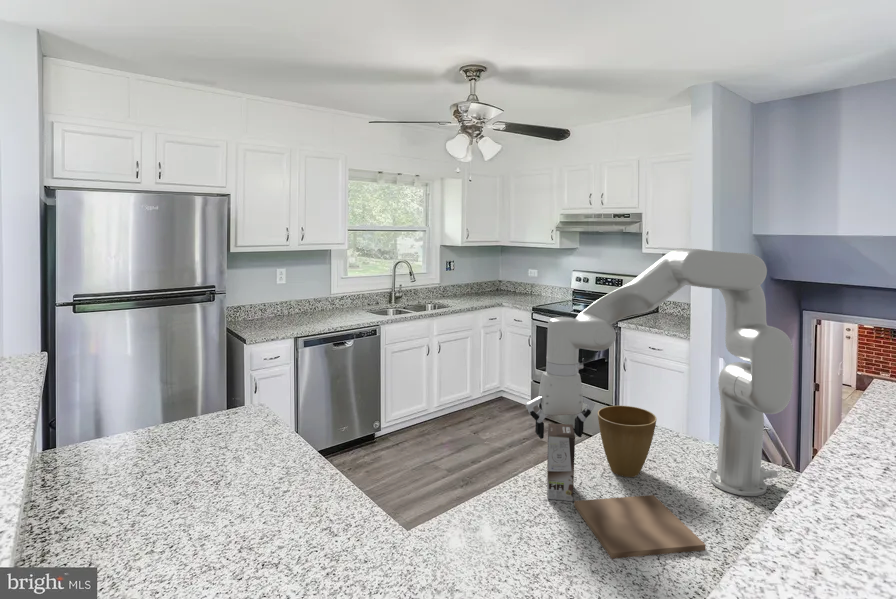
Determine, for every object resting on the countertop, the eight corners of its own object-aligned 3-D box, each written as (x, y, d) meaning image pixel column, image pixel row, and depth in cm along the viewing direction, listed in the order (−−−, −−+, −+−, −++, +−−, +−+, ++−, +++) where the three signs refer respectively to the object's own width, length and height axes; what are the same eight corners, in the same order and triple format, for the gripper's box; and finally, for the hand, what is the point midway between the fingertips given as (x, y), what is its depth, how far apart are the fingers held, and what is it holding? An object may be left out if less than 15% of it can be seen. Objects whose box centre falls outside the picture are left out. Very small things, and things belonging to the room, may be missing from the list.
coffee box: (573, 502, 121) (575, 437, 119) (546, 499, 122) (547, 435, 120) (572, 483, 130) (573, 423, 128) (547, 481, 131) (548, 422, 129)
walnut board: (653, 499, 122) (653, 494, 122) (705, 550, 102) (705, 544, 102) (574, 505, 119) (574, 500, 119) (611, 558, 100) (611, 553, 100)
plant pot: (595, 456, 146) (597, 403, 144) (650, 462, 142) (653, 407, 140) (596, 480, 132) (598, 421, 130) (657, 487, 128) (660, 427, 126)
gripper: (589, 363, 127) (586, 429, 129) (523, 365, 125) (520, 431, 127) (602, 371, 120) (598, 440, 122) (531, 373, 118) (529, 443, 120)
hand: (559, 435), depth 124 cm, fingers open, 9 cm apart
